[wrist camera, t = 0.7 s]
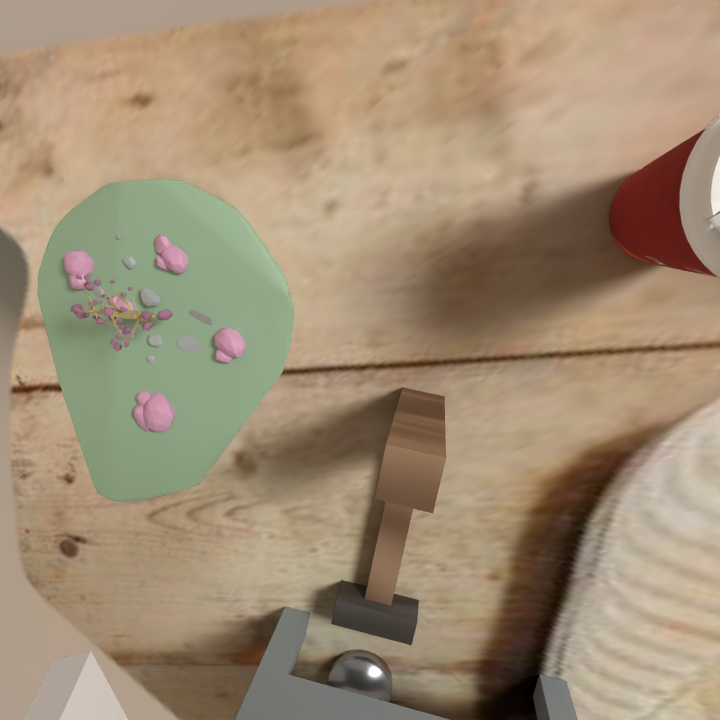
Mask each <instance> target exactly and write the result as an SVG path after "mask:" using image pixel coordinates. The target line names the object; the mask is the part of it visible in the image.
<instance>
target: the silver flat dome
mask: <svg viewBox="0 0 720 720" xmlns="http://www.w3.org/2000/svg"><path fill="white" fill-rule="evenodd" d="M327 685H328V686H331V687H335V688H339V689H342V690H346V691H349V692H353V693H356V694H360V695H364V696H367V697H371V698H374V699H378V700H382V701H385V702H389V701H390V697H391V689H392V675H391V671H390V669H389V667H388V666H387V664H386V663H385V662H384V661H383V660H382V659H381V658H380V657H379V656H377V655H376V654H374V653H371V652H369V651H365V650H350V651H347V652H344V653H342V654H341V655H339V656H338V657H337V658H336V659H335V660H334V662H333V664H332V666H331V670H330V674H329V677H328V681H327Z"/></svg>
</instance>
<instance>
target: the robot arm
mask: <svg viewBox="0 0 720 720" xmlns="http://www.w3.org/2000/svg"><path fill="white" fill-rule="evenodd" d="M23 720H128V718H127V716H126V715H125V713H124V711H123V709H122V707H121V705H120V703H119V702H118V700H117V698H116V696H115V694H114V692H113V691H112V689H111V687H110V685H109V683H108V681H107V680H106V678H105V676H104V674H103V672H102V670H101V668H100V667H99V665H98V663H97V661H96V659H95V657H94V656H93V654H92V652H91V651H88V652H84V653H80V654H76V655H72V656H68V657H64V658H60V659H56V660H54V661H53V663H52V665H51V667H50V668H49V670H48V673H47V674H46V676H45V678H44V680H43V682H42V684H41V686H40V688H39V690H38V692H37V694H36V696H35V698H34V700H33V701H32V703H31V705H30V707H29V709H28V711H27V713H26V715H25V717H24V719H23Z"/></svg>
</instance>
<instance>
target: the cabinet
mask: <svg viewBox="0 0 720 720" xmlns="http://www.w3.org/2000/svg"><path fill="white" fill-rule="evenodd" d="M309 614H310V613H308V612H304V611H300V610H296V609H293V608H289V607H285V608H284V611H283V613H282V615H281V617H280V620H279V622H278V624H277V626H276V629H275V631H274V633H273V635H272V638H271V640H270V642H269V644H268V647H267V649H266V651H265V653H264V656H263V658H262V660H261V662H260V665H259V667H258V669H257V671H256V674H255V676H254V678H253V680H252V683H251V685H250V687H249V689H248V692H247V694H246V696H245V698H244V701H243V703H242V705H241V707H240V710H239V712H238V714H237V716H236V719H235V720H449V719H446V718H442V717H439V716H435V715H432V714H428V713H424V712H421V711H417V710H414V709H410V708H407V707H403V706H399V705H396V704H392V703H389V702H385V701H382V700H378V699H374V698H371V697H367V696H364V695H360V694H356V693H353V692H349V691H346V690H342V689H339V688H335V687H331V686H328V685H324V684H321V683H317V682H314V681H310V680H306V679H303V678H299V677H296V676H292V675H291V674H292V671H293V668H294V666H295V663H296V660H297V657H298V654H299V652H300V649H301V646H302V643H303V640H304V638H305V635H306V630H307V624H308V619H309ZM533 699H534V704H535V709H536V714H537V718H538V720H578V719H577V716H576V713H575V709H574V706H573V702H572V699H571V696H570V692H569V689H568V685H567V682H566V681H563V680H559V679H555V678H552V677H548V676H544V675H540V674H539V678H538V681H537V684H536V688H535V691H534V694H533Z"/></svg>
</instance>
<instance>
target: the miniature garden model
mask: <svg viewBox="0 0 720 720" xmlns="http://www.w3.org/2000/svg"><path fill="white" fill-rule="evenodd" d="M38 299H39V303H40V307H41V311H42V315H43V319H44V323H45V327H46V331H47V335H48V339H49V343H50V347H51V351H52V355H53V359H54V363H55V368H56V372H57V376H58V380H59V383H60V386H61V389H62V392H63V395H64V398H65V401H66V404H67V407H68V410H69V413H70V416H71V419H72V422H73V425H74V428H75V431H76V434H77V437H78V440H79V443H80V445H81V448H82V451H83V454H84V457H85V460H86V463H87V466H88V469H89V472H90V475H91V478H92V481H93V483H94V486H95V488H96V491H97V493H99V494H100V495H102V496H104V497H106V498H108V499H110V500H113V501H119V502H125V501H139V500H145V499H150V498H155V497H160V496H164V495H168V494H172V493H175V492H179V491H182V490H185V489H188V488H190V487H193V486H196V485H198V484H200V483H201V481H202V480H203V479H204V477H205V476H206V475H207V473H208V472H209V470H210V469H211V468H212V466H213V465H214V464H215V462H216V461H217V460H218V458H219V457H220V456H221V454H222V453H223V452H224V450H225V449H226V448H227V446H228V445H229V443H230V442H231V441H232V439H233V438H234V437H235V435H236V434H237V433H238V431H239V430H240V429H241V427H242V426H243V425H244V423H245V422H246V421H247V419H248V418H249V416H250V415H251V414H252V412H253V411H254V410H255V408H256V407H257V406H258V404H259V403H260V402H261V400H262V399H263V398H264V396H265V395H266V393H267V392H268V391H269V389H270V388H271V387H272V385H273V384H274V383H275V381H276V380H277V379H278V377H279V376H280V375H281V373H282V371H283V369H284V366H285V363H286V360H287V357H288V353H289V348H290V341H291V334H292V325H293V314H294V313H293V307H292V303H291V298H290V294H289V289H288V285H287V281H286V278H285V275H284V273H283V271H282V270H281V268H280V267H279V265H278V264H277V262H276V261H275V259H274V258H273V256H272V255H271V254H270V252H269V251H268V249H267V248H266V246H265V245H264V243H263V242H262V240H261V239H260V237H259V236H258V235H257V233H256V232H255V230H254V229H253V228H252V226H251V225H250V223H249V222H248V221H247V219H246V218H245V217H244V216H243V215H242V214H241V213H240V212H239V211H238V210H236V209H235V208H234V207H232V206H231V205H229V204H227V203H225V202H224V201H222V200H220V199H218V198H216V197H214V196H212V195H210V194H208V193H206V192H204V191H203V190H201V189H199V188H197V187H195V186H193V185H190V184H188V183H186V182H182V181H177V180H169V179H151V180H140V181H129V182H119V183H111V184H107V185H105V186H103V187H101V188H100V189H99V190H97V191H96V192H95V193H93V194H92V195H91V196H90V197H88V198H87V199H86V200H84V201H83V202H82V203H80V204H79V205H78V206H76V207H75V208H74V209H72V210H71V211H70V212H69V213H68V214H67V215H66V216H65V217H64V218H63V219H62V220H61V221H60V223H59V224H58V225H57V226H56V228H55V230H54V232H53V234H52V236H51V238H50V241H49V243H48V246H47V249H46V252H45V255H44V258H43V261H42V264H41V267H40V270H39V275H38Z"/></svg>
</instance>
